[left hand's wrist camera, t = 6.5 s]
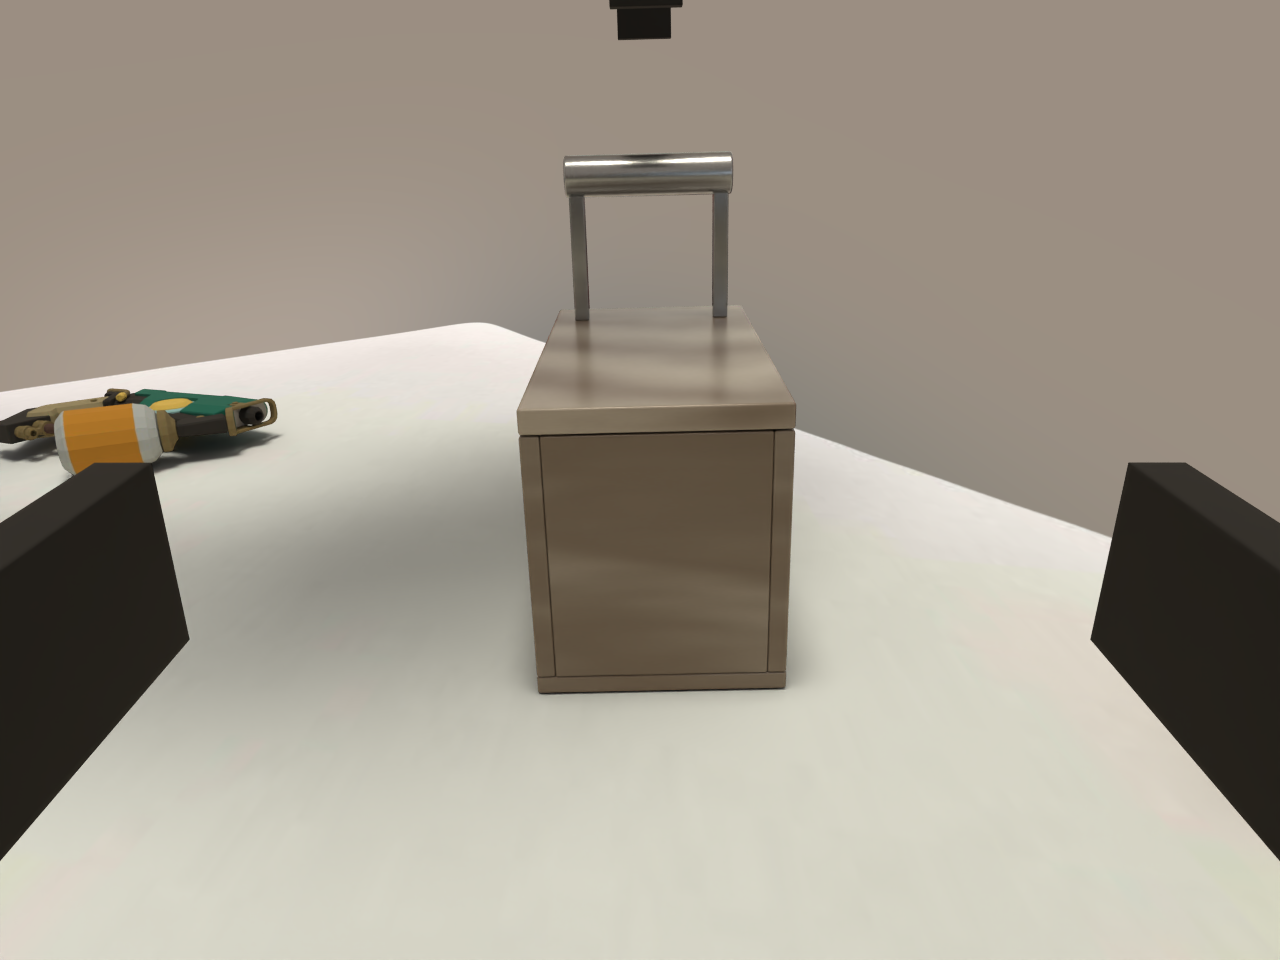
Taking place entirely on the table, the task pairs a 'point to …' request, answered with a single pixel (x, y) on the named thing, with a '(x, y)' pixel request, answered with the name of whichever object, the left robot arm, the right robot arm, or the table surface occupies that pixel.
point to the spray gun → (132, 424)
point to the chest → (659, 558)
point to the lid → (653, 328)
